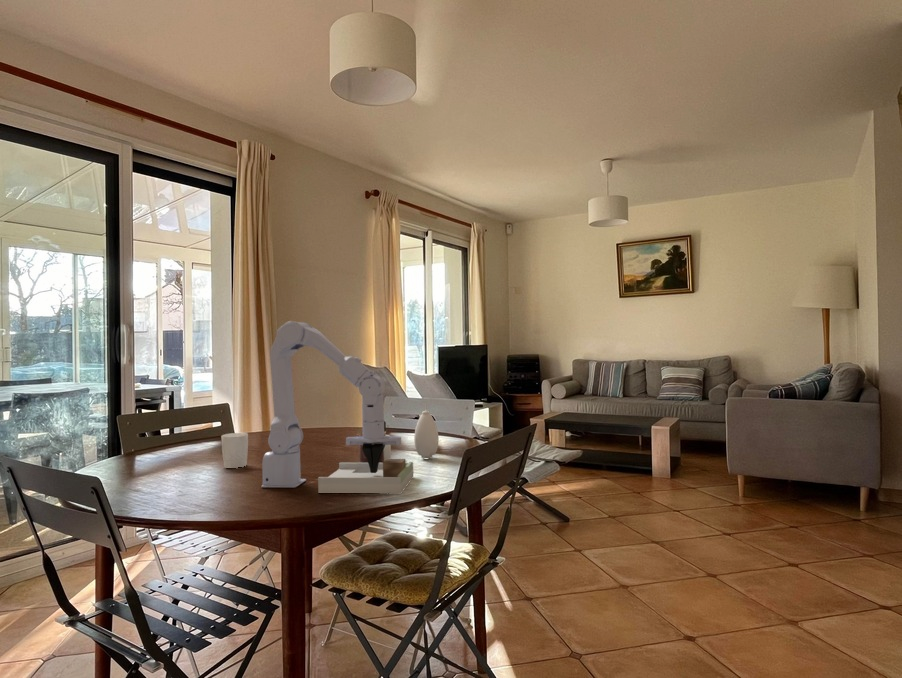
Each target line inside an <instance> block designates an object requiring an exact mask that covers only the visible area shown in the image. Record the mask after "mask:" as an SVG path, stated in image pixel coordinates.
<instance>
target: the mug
mask: <svg viewBox="0 0 902 678" xmlns="http://www.w3.org/2000/svg"><path fill="white" fill-rule="evenodd" d="M385 435H387V432H386V433H385V432H384V436H385ZM359 436H363V431H362V432H359V433H357V434H356V437H359ZM366 443H367V442H366ZM373 443H380V442H373ZM362 447H363V445H359V463H368V461H367V458H366V456H365V454H364V452H363V451H362ZM383 462H384V449H383V452H382V454H381V457H380V460H379V463H383Z"/></svg>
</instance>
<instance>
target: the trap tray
mask: <svg viewBox="0 0 902 678" xmlns="http://www.w3.org/2000/svg"><path fill="white" fill-rule="evenodd" d="M338 466H339V467H338V469H337V470H336V471H334V472H333V473H331V474H330V475H329V476H318V479H317V483H318V486H317V487H318V488H317V489H318V493H387V494H386V495H401V494H402V493H403V492H404V490H405V489H406V487H407V486H408V485H409V483H410V482H411V481H412V479H413V478H414V462H413V461H409V462H406V467H405V468H404V469H403V470H402V471H401V472H400V473H399V475H398V477H383V463H379V464H378V471H377V472H376V473H371V472H370V467H369V464H368V463H360V462H339V463H338ZM412 477H413V478H412ZM410 480H411V481H410ZM409 481H410V482H409ZM407 484H408V485H407ZM406 485H407V486H406ZM404 488H405V489H404ZM403 489H404V490H403ZM401 492H402V493H401ZM388 493H389V494H388Z"/></svg>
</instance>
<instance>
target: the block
mask: <svg viewBox="0 0 902 678" xmlns="http://www.w3.org/2000/svg"><path fill="white" fill-rule="evenodd" d="M406 463H407V462H406V458H390V459H386V460H385V461H384V462H383V477H398V475H399V473H400V472H401V471H402V470H403V469H404V468H405V467H406Z"/></svg>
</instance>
